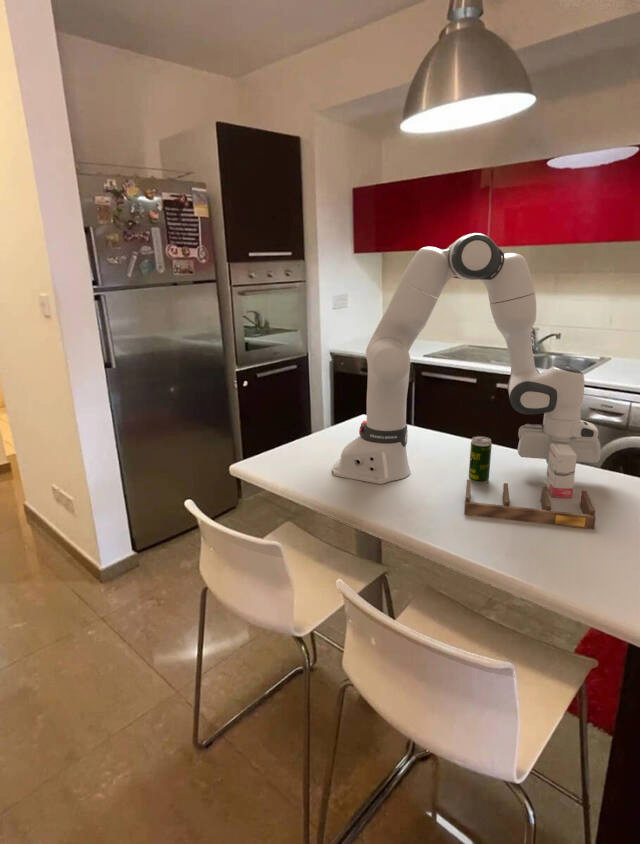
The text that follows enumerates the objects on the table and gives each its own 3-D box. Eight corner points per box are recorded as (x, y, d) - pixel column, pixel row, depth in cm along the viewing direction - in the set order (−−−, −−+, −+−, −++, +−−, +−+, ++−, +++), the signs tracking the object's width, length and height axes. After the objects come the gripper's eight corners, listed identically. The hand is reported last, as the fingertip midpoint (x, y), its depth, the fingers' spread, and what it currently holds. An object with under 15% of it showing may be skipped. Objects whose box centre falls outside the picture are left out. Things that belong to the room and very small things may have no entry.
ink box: (572, 498, 129) (578, 455, 125) (551, 497, 130) (557, 454, 126) (564, 484, 137) (569, 443, 134) (544, 483, 138) (549, 442, 135)
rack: (464, 515, 122) (465, 500, 121) (466, 493, 133) (467, 479, 132) (594, 530, 114) (596, 513, 113) (584, 505, 125) (586, 490, 124)
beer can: (477, 474, 145) (480, 434, 141) (492, 481, 140) (496, 440, 137) (464, 479, 142) (466, 438, 138) (479, 486, 138) (482, 444, 134)
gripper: (520, 427, 136) (515, 474, 140) (605, 432, 130) (598, 482, 134) (518, 420, 142) (514, 466, 146) (600, 425, 136) (593, 473, 140)
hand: (554, 474), depth 140 cm, fingers closed
